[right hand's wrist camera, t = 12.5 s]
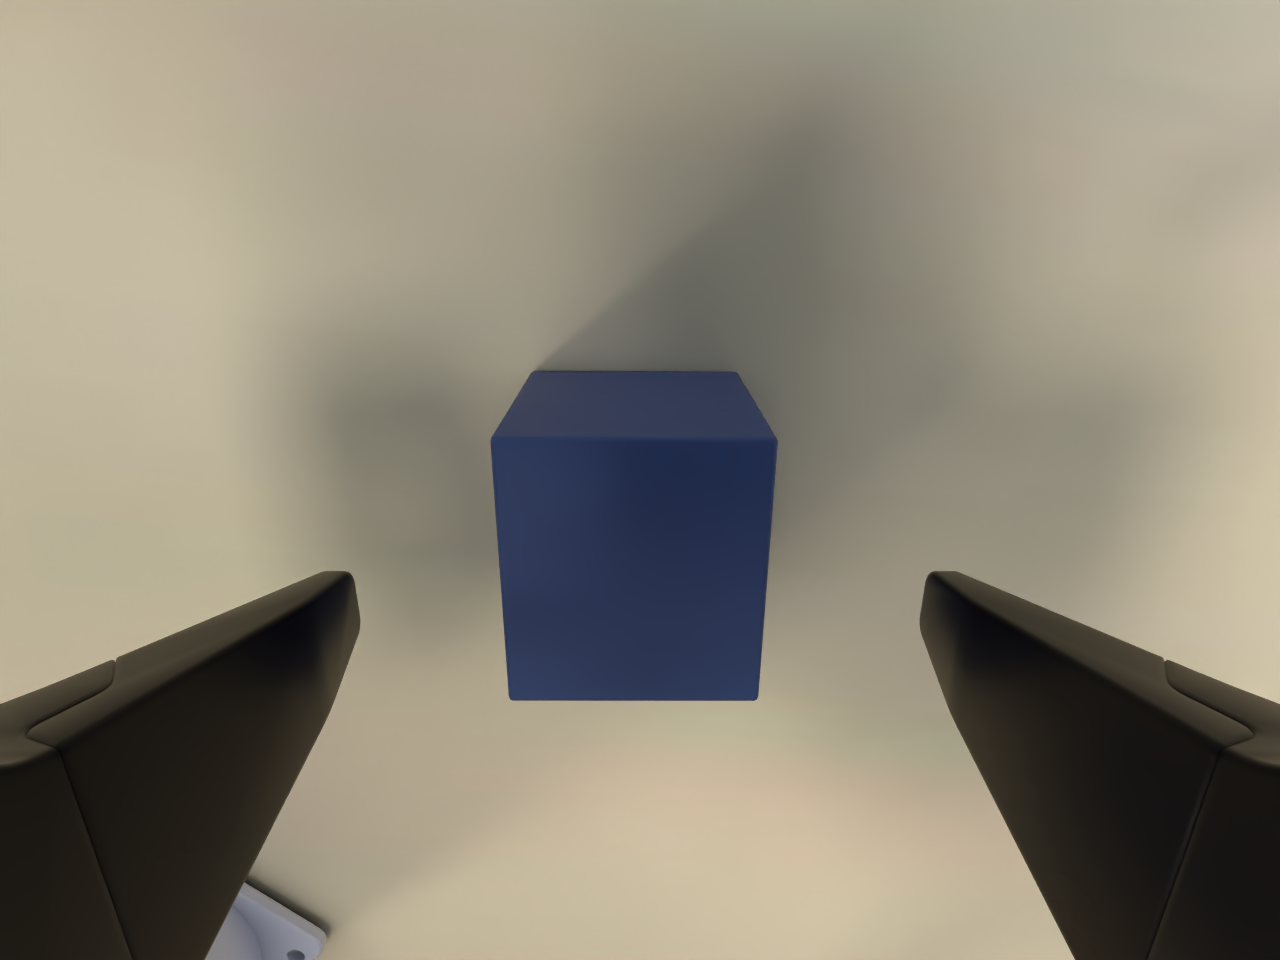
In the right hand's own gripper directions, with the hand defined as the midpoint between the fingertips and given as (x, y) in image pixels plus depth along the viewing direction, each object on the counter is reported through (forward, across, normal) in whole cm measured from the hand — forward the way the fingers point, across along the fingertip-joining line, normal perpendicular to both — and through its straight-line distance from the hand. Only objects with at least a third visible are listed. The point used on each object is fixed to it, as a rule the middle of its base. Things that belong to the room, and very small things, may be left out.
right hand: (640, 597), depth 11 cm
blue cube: (+6, 0, 0) cm, 6 cm away
